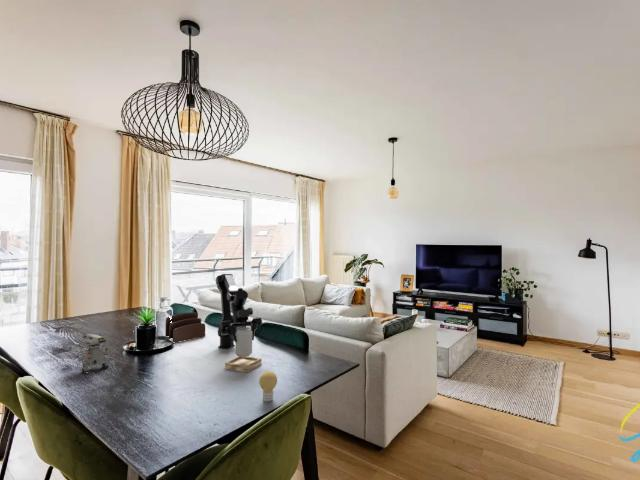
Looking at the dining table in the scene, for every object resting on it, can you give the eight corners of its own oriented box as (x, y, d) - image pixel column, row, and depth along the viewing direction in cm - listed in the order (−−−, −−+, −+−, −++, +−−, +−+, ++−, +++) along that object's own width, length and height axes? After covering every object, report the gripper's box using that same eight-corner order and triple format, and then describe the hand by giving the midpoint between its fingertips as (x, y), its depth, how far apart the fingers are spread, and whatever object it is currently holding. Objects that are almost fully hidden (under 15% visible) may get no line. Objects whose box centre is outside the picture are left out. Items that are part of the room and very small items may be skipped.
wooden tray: (225, 368, 152) (225, 363, 152) (240, 360, 163) (240, 355, 163) (247, 372, 148) (247, 366, 148) (261, 363, 159) (261, 358, 159)
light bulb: (259, 396, 125) (260, 368, 125) (277, 395, 126) (277, 368, 126) (258, 404, 119) (258, 375, 119) (276, 404, 119) (276, 375, 120)
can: (252, 352, 160) (253, 326, 160) (251, 357, 152) (251, 330, 152) (236, 352, 159) (236, 326, 159) (234, 357, 152) (234, 330, 152)
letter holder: (164, 340, 195) (165, 315, 196) (196, 333, 211) (197, 310, 211) (173, 343, 189) (173, 318, 189) (205, 336, 204) (205, 312, 204)
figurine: (99, 363, 157) (100, 330, 157) (109, 369, 149) (110, 335, 150) (76, 369, 149) (77, 334, 150) (85, 375, 142) (86, 339, 142)
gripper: (221, 303, 155) (227, 334, 145) (261, 300, 164) (268, 329, 154) (217, 317, 162) (222, 347, 152) (255, 313, 171) (262, 341, 161)
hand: (244, 341), depth 154 cm, fingers closed on can, 7 cm apart
